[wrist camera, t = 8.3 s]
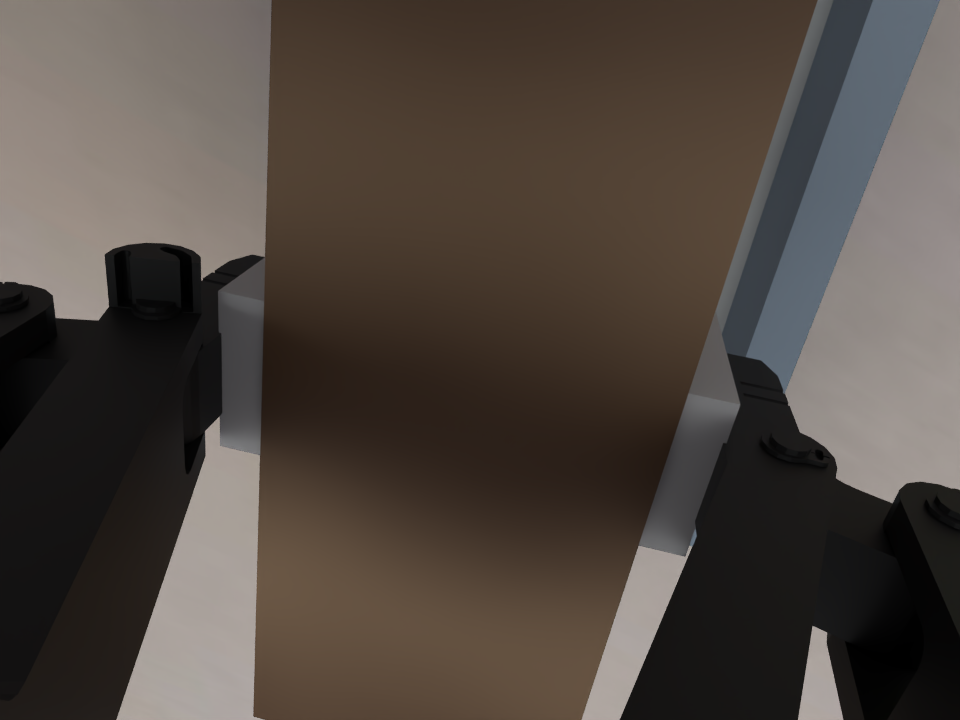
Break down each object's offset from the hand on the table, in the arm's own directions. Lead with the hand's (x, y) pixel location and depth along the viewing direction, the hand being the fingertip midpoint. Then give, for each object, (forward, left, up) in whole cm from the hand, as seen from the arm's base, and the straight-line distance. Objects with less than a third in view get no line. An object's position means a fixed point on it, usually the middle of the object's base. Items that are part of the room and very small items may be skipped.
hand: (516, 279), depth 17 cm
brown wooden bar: (0, 0, 0) cm, 0 cm away
